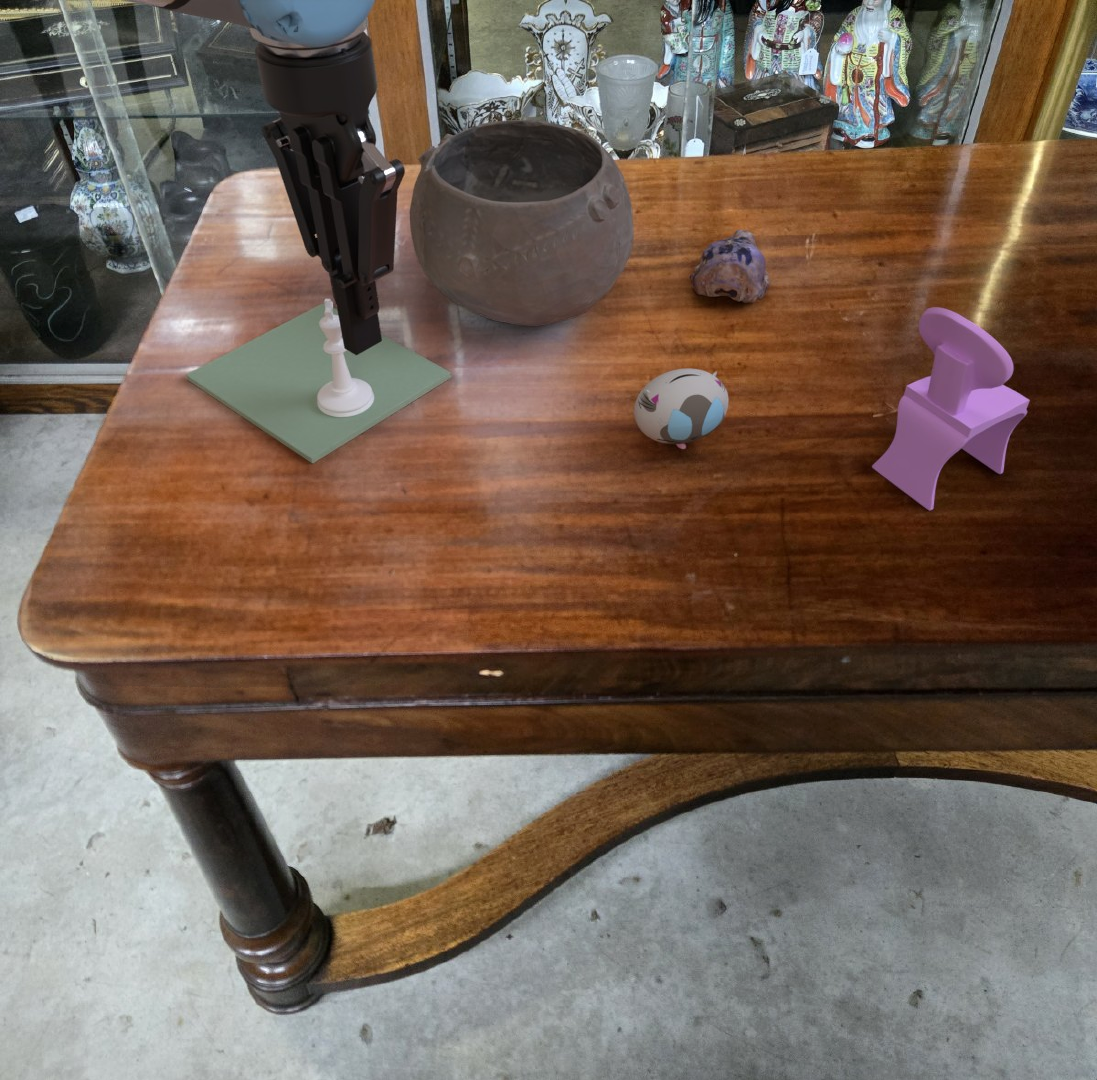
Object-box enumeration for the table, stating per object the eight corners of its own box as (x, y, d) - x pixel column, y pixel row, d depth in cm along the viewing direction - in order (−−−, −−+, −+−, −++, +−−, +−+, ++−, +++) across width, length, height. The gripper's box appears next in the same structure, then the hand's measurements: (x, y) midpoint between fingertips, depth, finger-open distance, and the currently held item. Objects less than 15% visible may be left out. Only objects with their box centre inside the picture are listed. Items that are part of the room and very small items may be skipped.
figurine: (650, 475, 84) (654, 409, 79) (619, 432, 88) (622, 367, 83) (737, 451, 86) (747, 385, 81) (704, 410, 90) (711, 345, 85)
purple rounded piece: (717, 242, 110) (730, 190, 105) (785, 266, 108) (802, 215, 103) (675, 303, 102) (687, 250, 98) (748, 330, 101) (764, 277, 96)
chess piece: (376, 382, 92) (360, 283, 85) (371, 416, 89) (354, 315, 82) (321, 384, 92) (300, 285, 85) (314, 418, 89) (292, 317, 82)
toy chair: (1017, 478, 83) (1082, 315, 72) (939, 518, 80) (996, 355, 69) (938, 423, 88) (988, 265, 78) (862, 460, 85) (903, 299, 74)
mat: (312, 464, 86) (311, 458, 85) (187, 379, 94) (185, 374, 94) (451, 377, 94) (451, 372, 93) (324, 307, 103) (323, 302, 102)
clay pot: (664, 332, 98) (675, 181, 88) (453, 379, 94) (438, 225, 83) (583, 232, 113) (584, 91, 102) (396, 268, 108) (377, 124, 97)
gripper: (423, 43, 66) (453, 354, 82) (295, 0, 72) (347, 297, 89) (331, 78, 62) (381, 398, 78) (204, 29, 68) (276, 334, 85)
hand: (363, 344), depth 84 cm, fingers closed
